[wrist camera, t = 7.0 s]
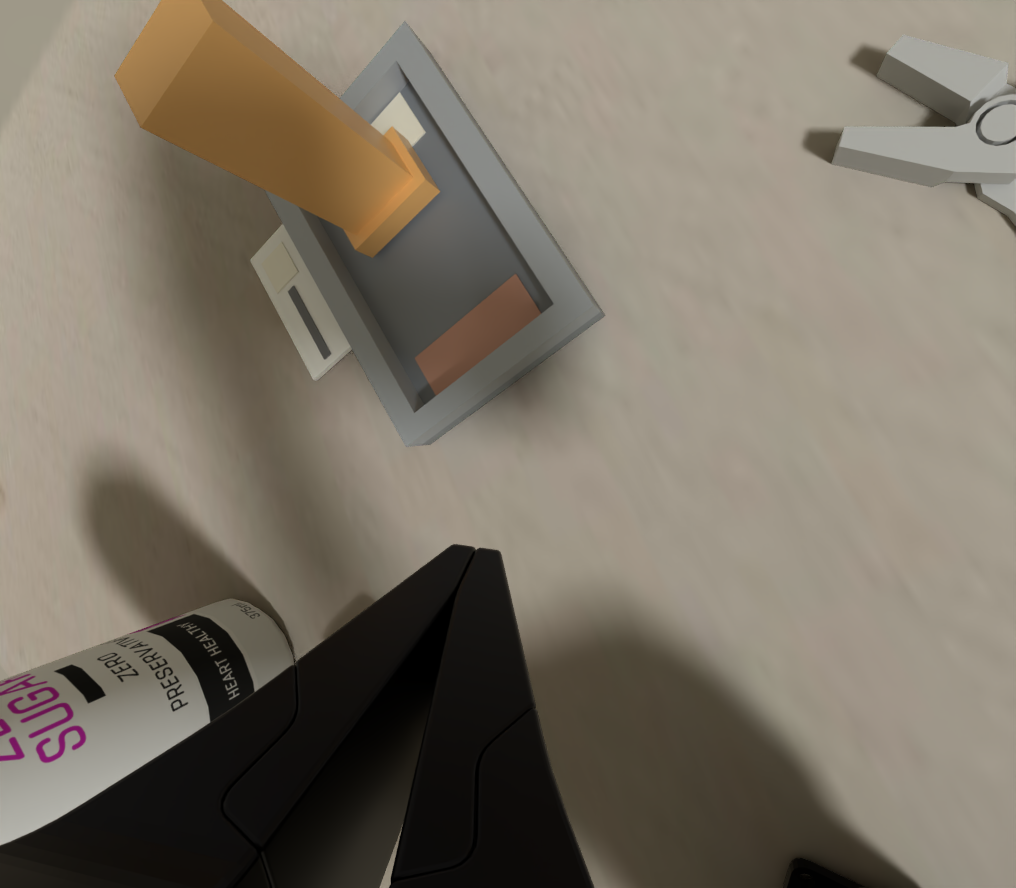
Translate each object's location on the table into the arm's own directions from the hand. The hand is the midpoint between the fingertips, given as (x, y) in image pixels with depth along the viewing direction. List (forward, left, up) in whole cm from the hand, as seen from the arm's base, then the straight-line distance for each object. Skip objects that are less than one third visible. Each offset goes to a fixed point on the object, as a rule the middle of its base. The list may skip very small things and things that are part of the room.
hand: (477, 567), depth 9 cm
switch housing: (+7, +12, -13) cm, 19 cm away
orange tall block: (+10, +13, -12) cm, 20 cm away
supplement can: (-16, +18, -13) cm, 28 cm away
